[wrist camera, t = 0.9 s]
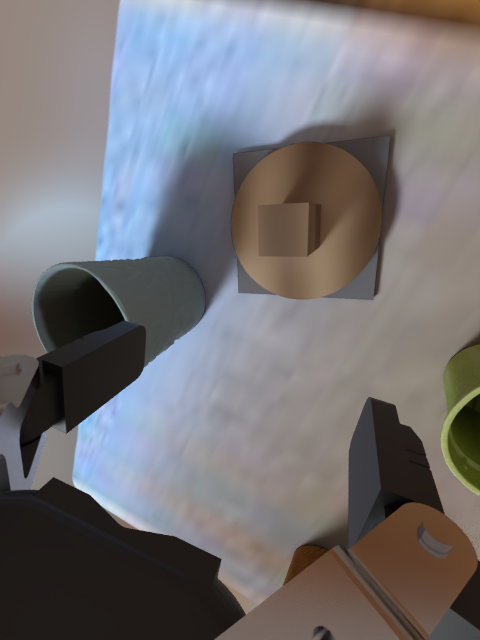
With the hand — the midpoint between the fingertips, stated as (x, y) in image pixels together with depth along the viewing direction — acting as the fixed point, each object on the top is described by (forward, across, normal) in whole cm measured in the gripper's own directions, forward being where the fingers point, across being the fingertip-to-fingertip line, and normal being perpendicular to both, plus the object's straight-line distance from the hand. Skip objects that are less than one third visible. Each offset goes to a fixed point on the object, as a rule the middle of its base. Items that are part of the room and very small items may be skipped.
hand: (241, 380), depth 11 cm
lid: (+18, +1, -4) cm, 19 cm away
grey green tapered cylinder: (+20, +14, +5) cm, 25 cm away
